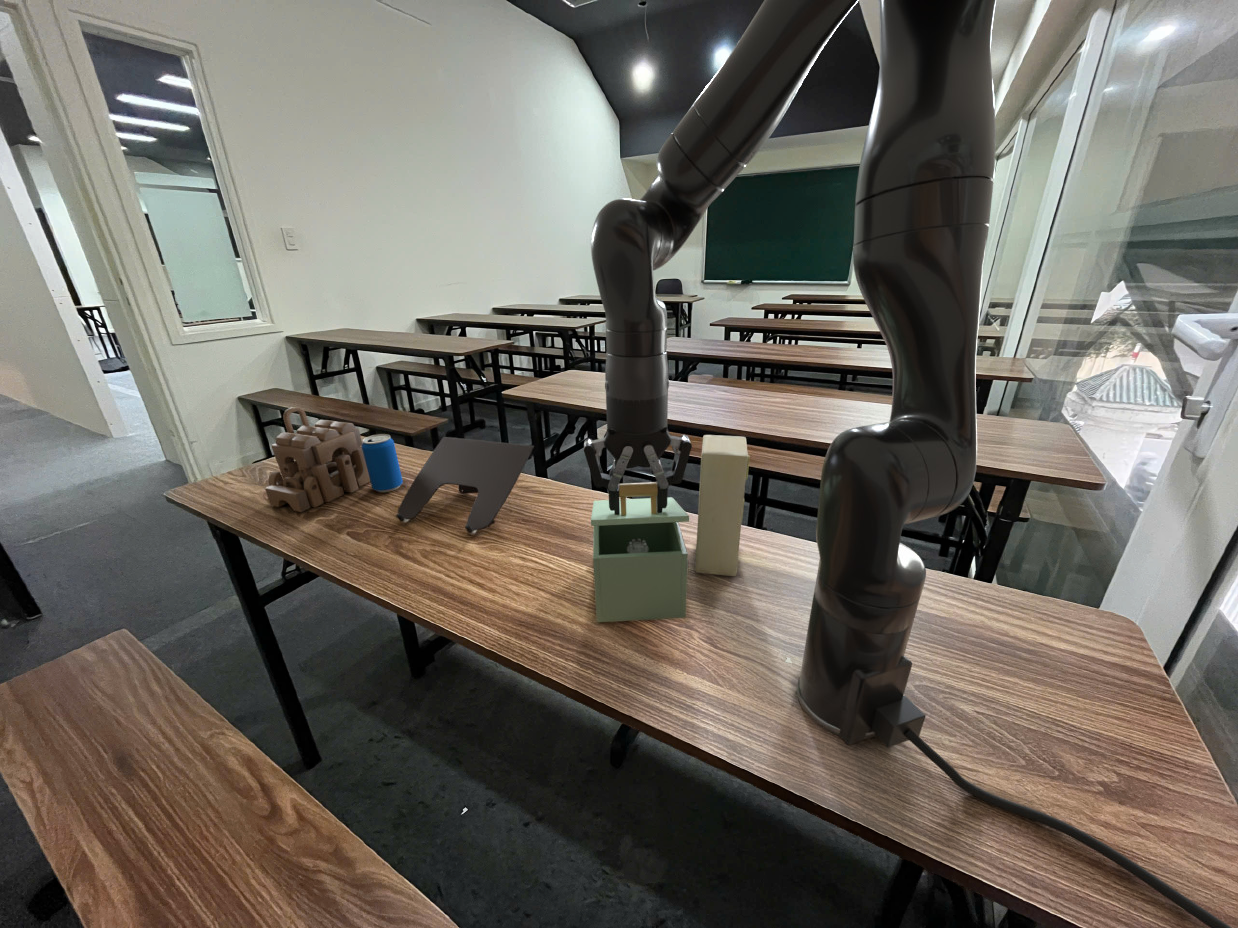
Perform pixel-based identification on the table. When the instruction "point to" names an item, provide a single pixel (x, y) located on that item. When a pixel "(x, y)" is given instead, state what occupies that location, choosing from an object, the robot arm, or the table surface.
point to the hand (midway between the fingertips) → (637, 510)
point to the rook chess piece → (637, 547)
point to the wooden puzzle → (316, 463)
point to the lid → (637, 507)
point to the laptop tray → (468, 477)
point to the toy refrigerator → (721, 503)
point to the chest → (640, 572)
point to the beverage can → (382, 462)
